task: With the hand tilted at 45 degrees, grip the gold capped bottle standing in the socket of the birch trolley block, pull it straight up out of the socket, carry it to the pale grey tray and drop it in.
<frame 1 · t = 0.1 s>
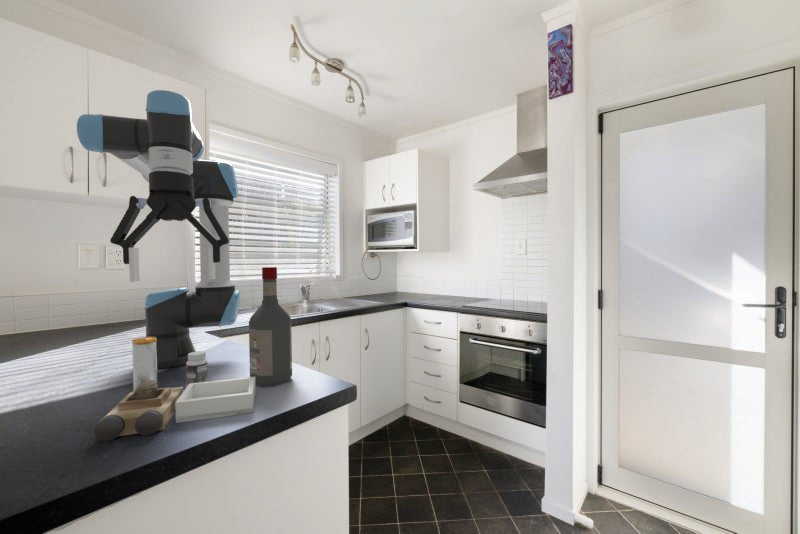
hand: (174, 280, 73), 28 cm above the counter, tool pointing down, fingers open, 13 cm apart
trolley block: (146, 416, 75), on the counter
tray: (219, 406, 79), on the counter
liquor: (271, 381, 96), on the counter
gold capped bottle: (146, 402, 74), point 3 cm above the counter, touching trolley block
pill bottle: (197, 386, 93), on the counter
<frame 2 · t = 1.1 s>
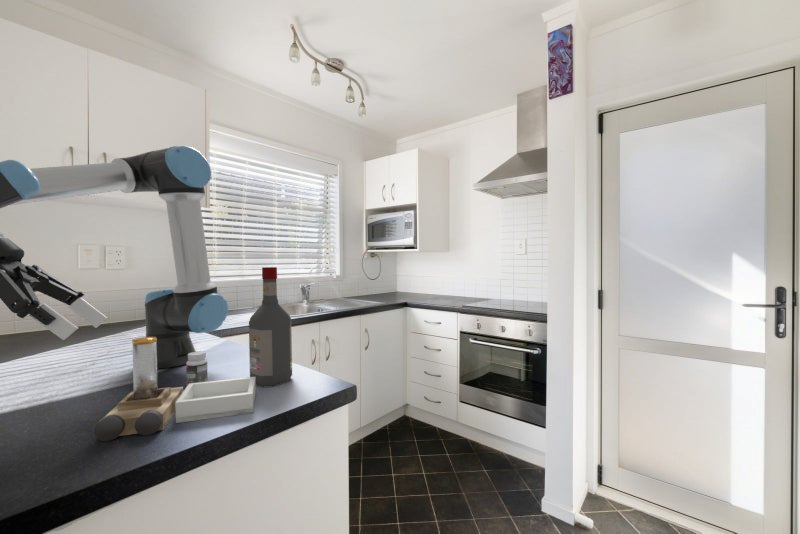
hand: (88, 328, 71), 19 cm above the counter, tool tilted 45°, fingers open, 13 cm apart
nothing on the counter moved.
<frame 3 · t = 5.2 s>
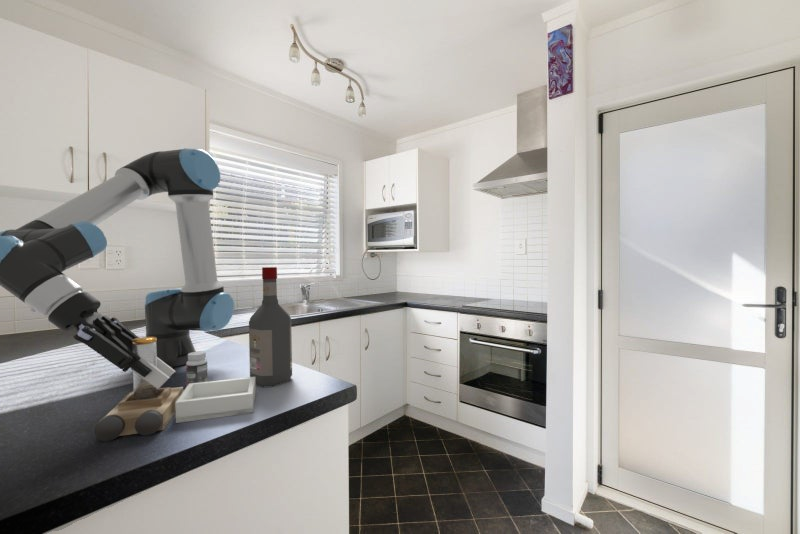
hand: (166, 379, 76), 7 cm above the counter, tool tilted 45°, fingers closed on gold capped bottle, 4 cm apart
gold capped bottle: (145, 402, 74), point 3 cm above the counter, touching gripper, trolley block
everything else where it was.
when the fingers open (7 cm above the counter, at t = 11.2 s): gold capped bottle drops 2 cm, resting on tray.
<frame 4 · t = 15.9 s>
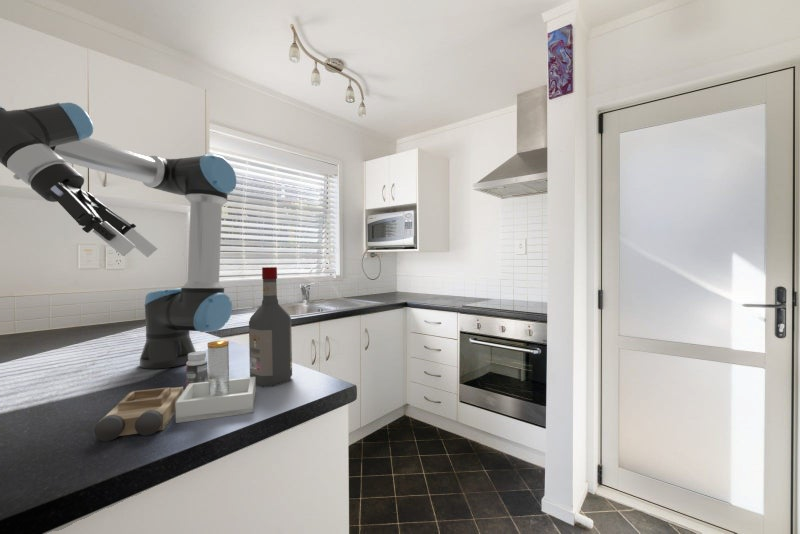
hand: (142, 252, 76), 34 cm above the counter, tool tilted 45°, fingers open, 13 cm apart
gold capped bottle: (219, 402, 79), point 1 cm above the counter, touching tray
everything else where it was.
at the end: gold capped bottle inside the target area on the tray (0.1 cm from its centre), point 1.0 cm above the tray's base; the gripper is holding nothing; gold capped bottle touching tray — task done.
